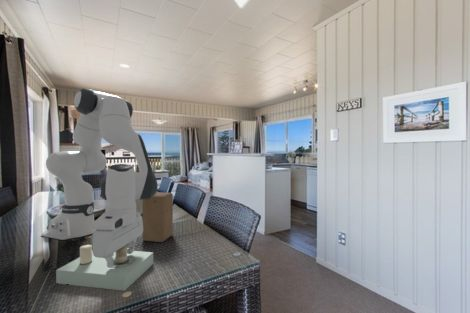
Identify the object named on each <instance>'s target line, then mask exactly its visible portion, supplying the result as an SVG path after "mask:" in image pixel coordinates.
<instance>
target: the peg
mask: <svg viewBox="0 0 470 313" xmlns="http://www.w3.org/2000/svg"><path fill="white" fill-rule="evenodd" d="M127 248H128V244H127V245H125V246H124V247H122V248H120V249H119V250H117V251H116V265H123V264H126V263H127Z"/></svg>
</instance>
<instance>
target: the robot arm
mask: <svg viewBox="0 0 470 313" xmlns="http://www.w3.org/2000/svg"><path fill="white" fill-rule="evenodd" d="M73 103H74V108H75V110H76V111H77V112H78V113H80V114H79V117H78V119H77V122H76V125H75V128H74V131H73V135H72V138H73V141H74V142H75V143H76V144H77V145H79V146H80V149H79V150H62V151H61V150H60V151H56V152H52V153H50V154H49V155H48V157H47V158H46V161H45V166H46V169H47V171H48V172H49V173H50V174H52V175H53V176H55V177H56V178H57V179H58V180H59V181H60V182H61V185H62V186H63V191H64V204H63V205H59V209H61V212H60V213H59V214H57V215H56V216H55V217H54V218H52V219H51V220H50V221H49V222H48V228H47V230H45V231H44V232H43V231H42V233H41V237H46V238H50V239H56V240H62V241H63V240H70V239H75V238H82V237H84V236H86V237H87V236H89V235H92V234H93V233H94V234H93V246H92V250H93V255H94V256H95V257H97V258H105V260H106V261H107V267H108V268H112V267H114V266H115V265H116V260H113V257H112V256H114V252H116V251H117V250H119V249H120V248H122V247H124V246H125V245H127V254H131V253H133V252H134V251H135V246H136V244H137V238H140V237H142V236H143V218H142V214H141V215H140V212H139V210H136V201H135V199H139V200H143V199H150V198H151V197H153V196H154V195H155V194H156V192H158V185H159V184H158V179H157V178H156V175H155V173H154V171H153V167H152V164H151V162H150V158H149V154H148V151H147V148H146V144H145V141H144V140H143V138H142V135H141V134H139V133H137V132H136V130H135V129H134V127H133V126H132V122H131V121H132V116H133V112H134V108H133V105H132V103H131V102H130V101H128V100H126V99H124V98H122V97H120V96H118V95H113V94H111V93H106V92H102V91H97V90H93V89H91V88H85V87H84V88H83V87H82V88H81V89H78V91H77V92H76V93H75V96H74V99H73ZM102 139H104V141H105V142H107V143H109V144H110V145H112V146H115V147H118V148H121V149H124V150H127V151H129V152H131V153H132V154H133V156H134V157H135V160H136V165H137V166H138V172H135V167H134V166H133V165H130V164H127V163H126V164H125V163H118V164H117V163H115V164H112V165H110V166H108V167H107V170H106V175H104V176H103V177H102V178H101V179H100V180H99V183H100V195H99V197H100V198H102V199H103V200H105V201H106V203H105V207H104V208H105V210H104V212H103V213H102V214H101V215H100V216H99V217H98V218H97V219H95V215H94V211H95V210H94V209H95V205H94V204H95V202H94V201H93V200H94V198H93V197H94V196H93V195H94V193H93V192H94V189H93V186H92V185H91V184H90V183H89V182H87V181H85V180H84V179H83V177H82V175H84V174H95V173H97V172H101V171H103V170H104V169H105V168H106V166H107V163H108V162H107V158H106V155H105V154H104V153H103V152H102V149H101V142H102Z"/></svg>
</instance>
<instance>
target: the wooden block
mask: <svg viewBox="0 0 470 313" xmlns="http://www.w3.org/2000/svg"><path fill="white" fill-rule="evenodd" d="M173 196H174V195H173V193H172V192H159V191H157V192H156V194H155V195H154V196H153V197H151V198H150V199H143V200H142V214H141V216H142V220H143V233H142V241H145V242H152V243H153V242H156V243H163V242H165V241H166V240H168V239H169V238H170V237H172V236H173V234H174V233H173V232H174V231H173V230H174V228H173V226H174V224H173V221H174V220H173V219H174V218H173V214H174V213H173V211H174V207H173V206H174V204H173V201H174V199H173Z"/></svg>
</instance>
